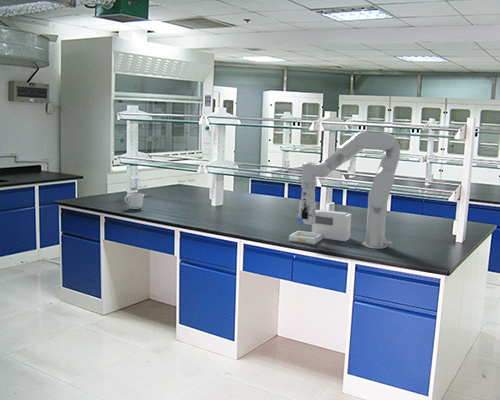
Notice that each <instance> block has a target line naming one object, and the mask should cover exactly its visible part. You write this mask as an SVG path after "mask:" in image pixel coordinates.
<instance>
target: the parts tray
mask: <svg viewBox="0 0 500 400" xmlns="http://www.w3.org/2000/svg"><path fill="white" fill-rule="evenodd" d="M323 239H324V238H323V234H320V233H313V232H312V231H303V230H297V231H295V232H293V233H290V234H288V241H289V242H295V243H301V244H308V245H316V244H318V243H319V242H321V241H322V240H323Z"/></svg>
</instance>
